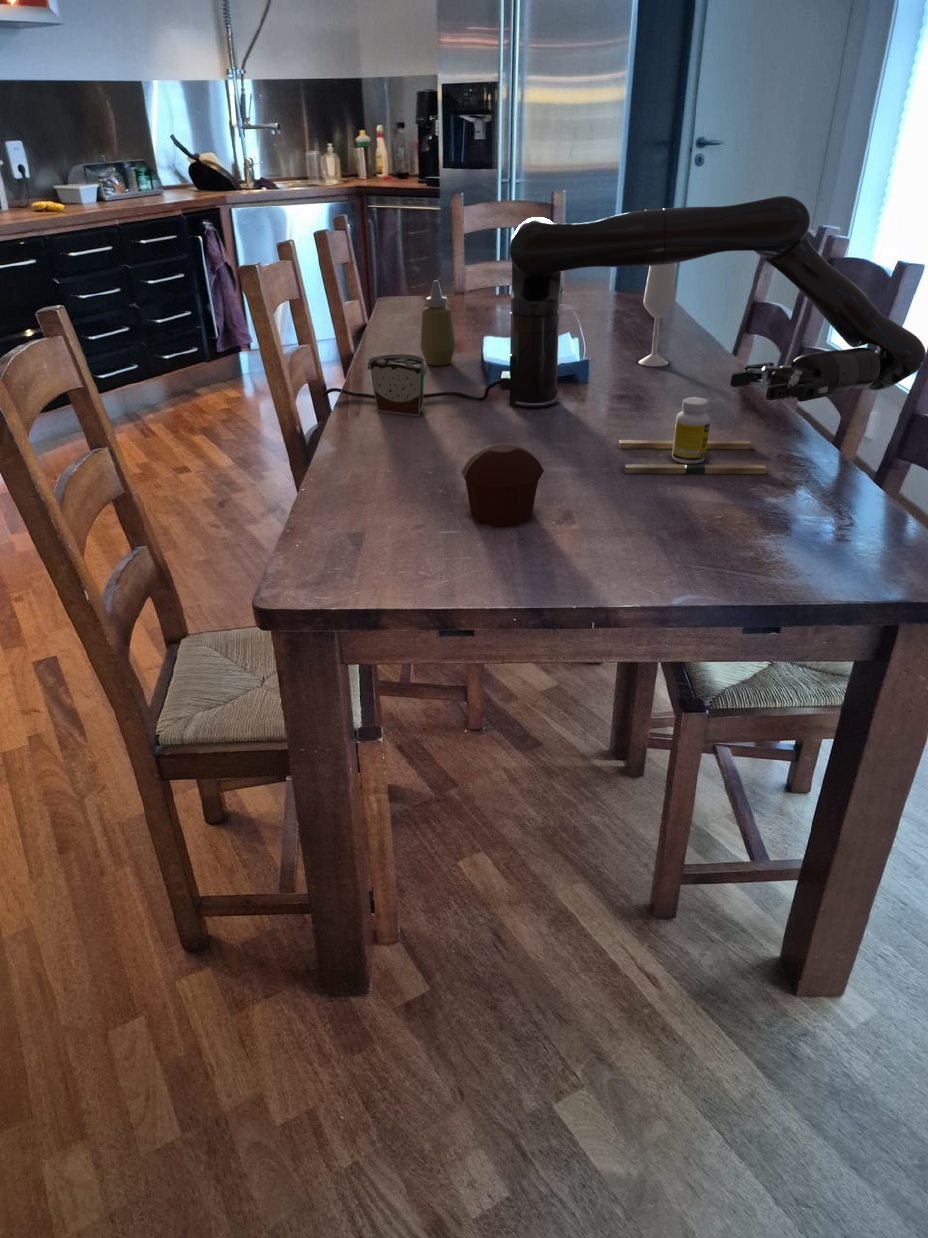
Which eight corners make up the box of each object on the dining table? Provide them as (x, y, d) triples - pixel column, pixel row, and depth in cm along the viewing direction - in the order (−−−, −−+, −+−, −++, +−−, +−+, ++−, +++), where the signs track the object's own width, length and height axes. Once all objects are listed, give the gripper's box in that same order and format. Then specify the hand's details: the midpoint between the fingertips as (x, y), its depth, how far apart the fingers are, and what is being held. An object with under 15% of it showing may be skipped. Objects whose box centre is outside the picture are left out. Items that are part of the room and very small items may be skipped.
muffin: (481, 536, 119) (480, 467, 114) (450, 507, 128) (448, 442, 123) (556, 520, 123) (559, 453, 118) (521, 493, 132) (522, 430, 127)
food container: (440, 408, 170) (438, 356, 165) (426, 417, 165) (423, 364, 160) (385, 401, 175) (382, 351, 169) (370, 410, 170) (366, 358, 165)
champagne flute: (656, 367, 192) (666, 251, 179) (632, 362, 196) (641, 248, 184) (674, 362, 195) (686, 247, 183) (650, 357, 200) (660, 245, 188)
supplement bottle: (705, 465, 140) (713, 406, 135) (671, 464, 141) (677, 404, 136) (704, 454, 145) (712, 396, 140) (671, 452, 146) (677, 395, 141)
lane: (625, 473, 138) (625, 467, 138) (618, 445, 149) (619, 440, 149) (765, 474, 136) (766, 468, 136) (748, 446, 148) (749, 440, 147)
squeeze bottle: (461, 359, 202) (459, 278, 192) (449, 368, 195) (446, 284, 186) (428, 357, 204) (425, 276, 195) (416, 366, 197) (411, 283, 188)
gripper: (797, 342, 151) (724, 354, 145) (861, 361, 140) (785, 374, 134) (789, 385, 155) (717, 398, 149) (851, 406, 144) (776, 421, 138)
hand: (749, 386), depth 141 cm, fingers open, 8 cm apart
